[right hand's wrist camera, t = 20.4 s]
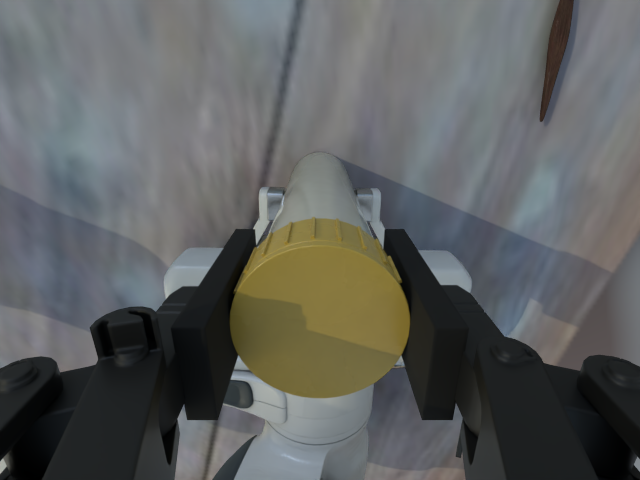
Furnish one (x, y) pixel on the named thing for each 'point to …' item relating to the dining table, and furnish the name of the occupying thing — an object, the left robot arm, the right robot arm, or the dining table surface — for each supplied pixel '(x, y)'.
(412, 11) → the dining table surface
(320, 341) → the lid
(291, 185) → the bottle
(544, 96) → the fork
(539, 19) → the dining table surface
